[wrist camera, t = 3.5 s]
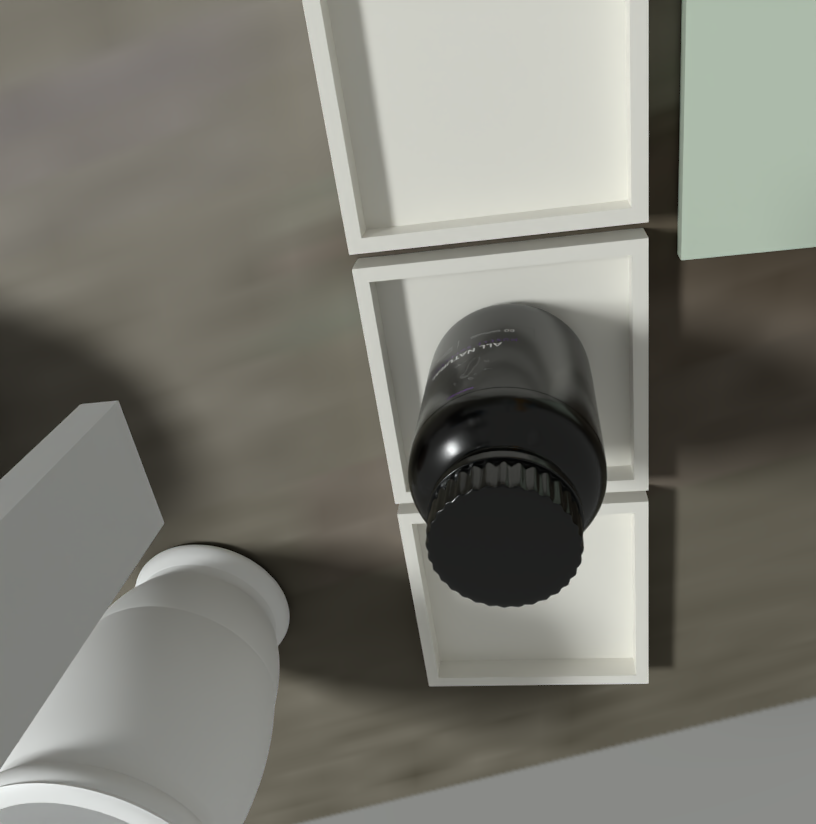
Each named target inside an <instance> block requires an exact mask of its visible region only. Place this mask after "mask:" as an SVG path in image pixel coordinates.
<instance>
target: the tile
mask: <svg viewBox="0 0 816 824" xmlns="http://www.w3.org/2000/svg"><path fill="white" fill-rule="evenodd" d="M809 247H816V0H682V16H681V72H680V128H679V184H678V240H677V254H678V256H679V258H680V259H681V260H689V259H699V258H709V257H719V256H729V255H739V254H749V253H759V252H769V251H779V250H789V249H799V248H809Z"/></svg>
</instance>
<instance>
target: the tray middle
mask: <svg viewBox="0 0 816 824" xmlns="http://www.w3.org/2000/svg"><path fill="white" fill-rule="evenodd" d="M352 272H353V278H354V283H355V289H356V294H357V300H358V305H359V310H360V316H361V321H362V327H363V332H364V337H365V343H366V348H367V354H368V359H369V364H370V370H371V375H372V381H373V386H374V391H375V397H376V402H377V408H378V413H379V418H380V424H381V429H382V435H383V440H384V445H385V451H386V456H387V462H388V467H389V472H390V478H391V483H392V489H393V494H394V500H395V504H401V503H414V501H413V499H412V496H411V492H410V488H409V481H408V466H409V457H410V452H411V447H412V443H413V439H414V434H415V430H416V426H417V421H418V417H419V413H420V409H421V404H422V400H423V396H424V391H425V387H426V383H427V379H428V374H429V370H430V367H431V363H432V359H433V356H434V353H435V351H436V349H437V347H438V345H439V343H440V341H441V339H442V338H443V337H444V335H445V334H446V333H447V331H448V330H449V329H450V328H451V327H452V326H453V325H454V324H456V323H457V322H458V321H459V320H461V319H462V318H464V317H465V316H467V315H469V314H470V313H472V312H474V311H477V310H479V309H482V308H485V307H488V306H492V305H498V304H523V305H528V306H533V307H536V308H539V309H542V310H544V311H547V312H549V313H551V314H552V315H554V316H556V317H557V318H559V319H560V320H562V321H563V322H564V323H565V324H566V325H568V326H569V327H570V328H571V329H572V330H573V332H574V333H575V334H576V335H577V337H578V338H579V340H580V341H581V343H582V345H583V347H584V349H585V351H586V354H587V357H588V360H589V364H590V369H591V374H592V379H593V385H594V391H595V397H596V403H597V409H598V415H599V421H600V426H601V432H602V438H603V444H604V450H605V456H606V465H607V487H606V492H605V493H609V492H628V491H647V490H649V238H648V236H647V234H646V232H645V231H644V229H643V228H635V229H626V230H617V231H607V232H598V233H589V234H580V235H570V236H561V237H552V238H543V239H533V240H524V241H515V242H506V243H496V244H487V245H478V246H469V247H459V248H450V249H441V250H432V251H422V252H413V253H404V254H395V255H385V256H376V257H367V258H358V259H357V261H356V263H355V265H354V267H353V268H352Z"/></svg>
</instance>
